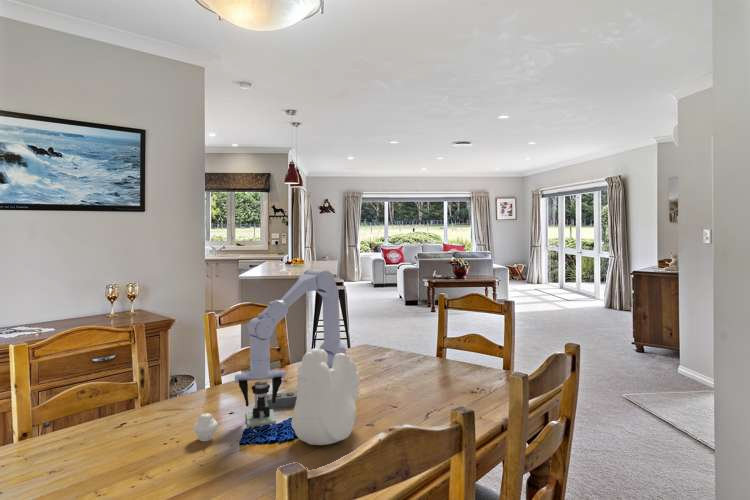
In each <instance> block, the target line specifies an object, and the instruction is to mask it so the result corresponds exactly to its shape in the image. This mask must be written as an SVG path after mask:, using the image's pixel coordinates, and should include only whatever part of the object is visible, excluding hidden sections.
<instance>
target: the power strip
mask: <svg viewBox="0 0 750 500" xmlns="http://www.w3.org/2000/svg"><path fill="white" fill-rule="evenodd" d="M297 391H298V390H297ZM297 391H288V392H279V393H278V392H277V395H276V400H275V403H273V402H272V393H269V394H268V393H267V404H268V407H269V408H270V409H273V410H274V409H280V408H289V407H295V404H296V399H297ZM264 401H265V394H264Z"/></svg>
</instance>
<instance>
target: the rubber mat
mask: <svg viewBox="0 0 750 500" xmlns="http://www.w3.org/2000/svg"><path fill="white" fill-rule="evenodd" d="M251 412H253V410H251V411H246V412H245V415H246V424H247V427H254V426H261V425H262V426H263V425H270V424H277V420H276V417H275V412H274V408H273V409H270V416H269V417H263V418H255V419H254V418H253V417H250V416H251V415H253V414H250V413H251ZM247 413H249V414H247ZM247 416H249V417H247Z"/></svg>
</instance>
